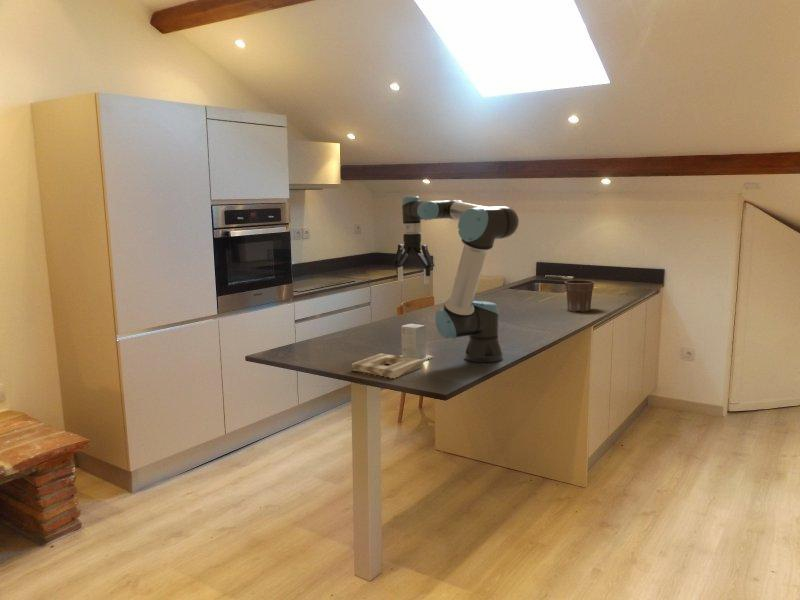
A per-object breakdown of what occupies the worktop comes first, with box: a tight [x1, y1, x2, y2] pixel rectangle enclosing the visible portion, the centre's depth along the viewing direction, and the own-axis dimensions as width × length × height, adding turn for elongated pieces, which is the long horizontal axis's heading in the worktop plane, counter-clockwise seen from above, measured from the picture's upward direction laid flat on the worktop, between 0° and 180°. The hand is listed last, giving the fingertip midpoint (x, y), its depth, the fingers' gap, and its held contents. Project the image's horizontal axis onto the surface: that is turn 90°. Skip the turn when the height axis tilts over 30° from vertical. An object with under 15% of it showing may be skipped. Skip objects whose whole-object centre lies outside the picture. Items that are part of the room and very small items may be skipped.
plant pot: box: [564, 279, 596, 313], centre depth 347 cm, size 16×16×16 cm
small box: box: [400, 323, 427, 359], centre depth 254 cm, size 8×6×13 cm
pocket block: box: [351, 352, 423, 379], centre depth 241 cm, size 20×18×3 cm
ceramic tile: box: [400, 354, 434, 363], centre depth 255 cm, size 12×10×1 cm
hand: (413, 283), depth 269 cm, fingers open, 13 cm apart
